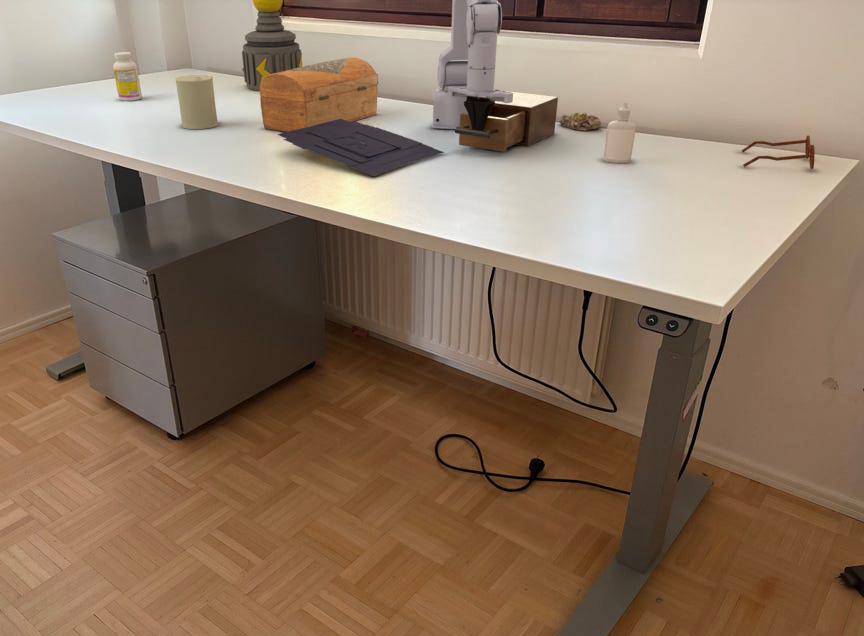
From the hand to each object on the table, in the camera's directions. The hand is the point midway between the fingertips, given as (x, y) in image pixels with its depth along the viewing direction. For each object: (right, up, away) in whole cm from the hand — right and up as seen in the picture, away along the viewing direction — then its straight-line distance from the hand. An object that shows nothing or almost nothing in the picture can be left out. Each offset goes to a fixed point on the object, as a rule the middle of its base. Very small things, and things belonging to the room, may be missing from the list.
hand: (477, 134), depth 161 cm
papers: (-26, -4, +3) cm, 27 cm away
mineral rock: (+29, +9, +25) cm, 39 cm away
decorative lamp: (-56, +38, +77) cm, 102 cm away
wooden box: (-37, +13, +32) cm, 51 cm away
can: (-68, +11, +29) cm, 74 cm away
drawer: (+4, 0, +6) cm, 7 cm away
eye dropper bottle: (+29, -7, -3) cm, 30 cm away
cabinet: (+11, +4, +16) cm, 20 cm away
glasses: (+62, -8, -5) cm, 63 cm away
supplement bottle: (-96, +29, +60) cm, 117 cm away
